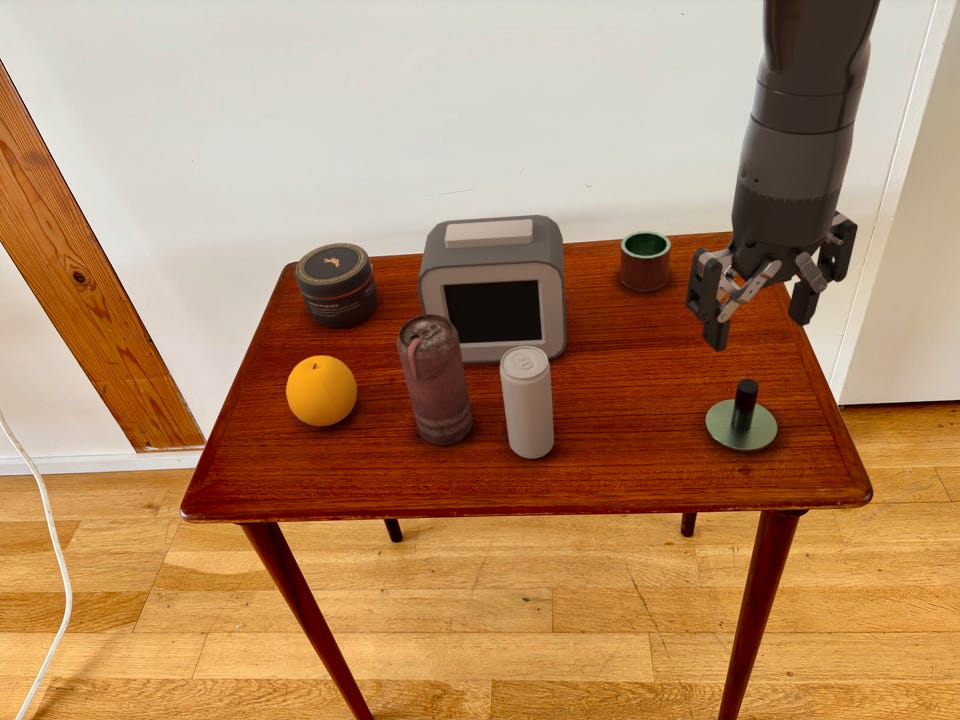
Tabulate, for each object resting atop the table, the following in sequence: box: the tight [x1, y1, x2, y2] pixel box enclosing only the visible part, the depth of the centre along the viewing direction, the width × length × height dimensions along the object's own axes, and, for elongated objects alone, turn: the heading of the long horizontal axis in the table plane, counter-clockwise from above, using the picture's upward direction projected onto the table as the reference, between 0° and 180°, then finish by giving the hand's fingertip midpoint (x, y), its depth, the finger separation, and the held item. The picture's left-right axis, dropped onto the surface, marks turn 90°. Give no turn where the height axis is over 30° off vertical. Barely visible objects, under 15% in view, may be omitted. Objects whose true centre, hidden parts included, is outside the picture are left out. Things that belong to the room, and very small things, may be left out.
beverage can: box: [499, 346, 555, 460], centre depth 72 cm, size 5×5×12 cm
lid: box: [704, 378, 778, 453], centre depth 72 cm, size 7×7×7 cm
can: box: [396, 314, 474, 447], centre depth 74 cm, size 6×6×14 cm
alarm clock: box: [416, 214, 568, 365], centre depth 85 cm, size 16×11×16 cm
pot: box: [619, 230, 672, 293], centre depth 93 cm, size 6×6×5 cm
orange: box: [285, 355, 358, 427], centre depth 80 cm, size 8×8×8 cm
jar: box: [294, 242, 378, 329], centre depth 95 cm, size 10×10×8 cm
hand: (757, 333), depth 65 cm, fingers open, 8 cm apart
